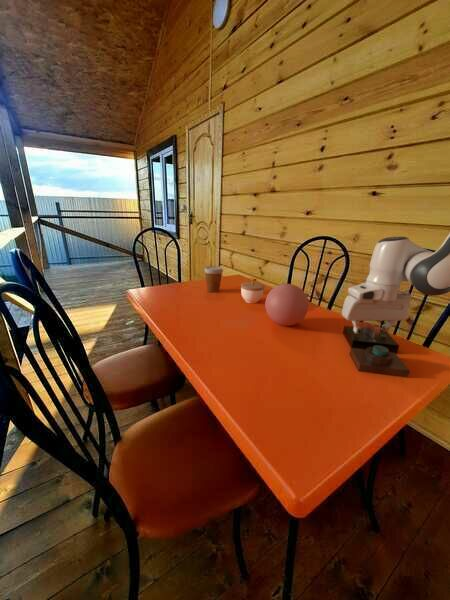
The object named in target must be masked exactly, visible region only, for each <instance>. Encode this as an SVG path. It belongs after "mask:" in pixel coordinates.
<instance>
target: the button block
mask: <svg viewBox="0 0 450 600" xmlns="http://www.w3.org/2000/svg"><path fill="white" fill-rule="evenodd" d="M372 350H373V347H368V348H367V349H366V350H365V349H357V348H351V347H350V349H349V356H350V358H351V360H352V362H353V364H354V366H355V368H356V369H357V372H361V373H368V374H375V375H376V374H377V375H384V376H389V377H390V376H391V377H399V378H406V379H407V378H409V375H410V372H411V370H410V369H409V368H408V367H407V365H406V364H405V363H404V362H403V361H402V360H401V358H400V357H399V356H398V355H397V354H395V353H392V352H389V351H388V354H387V357H381V356H377V355H375V354H373V353H372Z"/></svg>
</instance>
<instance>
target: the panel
mask: <svg viewBox="0 0 450 600" xmlns="http://www.w3.org/2000/svg"><path fill="white" fill-rule="evenodd" d="M363 328H364V327H361V332H360V333H355V332H354V331H353V329H354V326H353V325H352V326H351V325H344V326H343V331H342V334H343V337H344V339H345V340H346V341H347V343H348V345H349V348H350V349H351V348H357V349H365V350H366V349H367V348H368V347H373V346H375V345H380V346H383V347H386V348H387V349H388V351H389V352H392V353H395V354H396V355H397V354H398V352H399V348H400V345H399V343H398V342H397V341H396V340H395V339H394V338H393V336H392V335H390V334H389V332H388V333H383V332H382V331H381V328H380V331H379V335H378V339H373V338H371V337H370V336H369V335H367V334H366V333H365V332H364V331H363Z"/></svg>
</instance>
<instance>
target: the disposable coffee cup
mask: <svg viewBox="0 0 450 600" xmlns="http://www.w3.org/2000/svg"><path fill="white" fill-rule="evenodd" d="M203 271H204V275H205V283H206V284H205V285H206V291H207V292H209V293H218V292H220V288H221V281H222V275H223V272H224V269H223V268H222V267H221V266H216V265H210V266H205V267H204V270H203Z"/></svg>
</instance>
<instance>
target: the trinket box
mask: <svg viewBox="0 0 450 600" xmlns="http://www.w3.org/2000/svg"><path fill="white" fill-rule="evenodd" d="M264 291H265V284H263V283H260V282H257V281H256V282H255V280H254V281H244V282H242V283H241V284H240V294H241V297H242V299H243V300H244V301H245V302H246V303H248V304H257V303H259V301H260V300H262V298H263V296H264Z"/></svg>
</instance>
